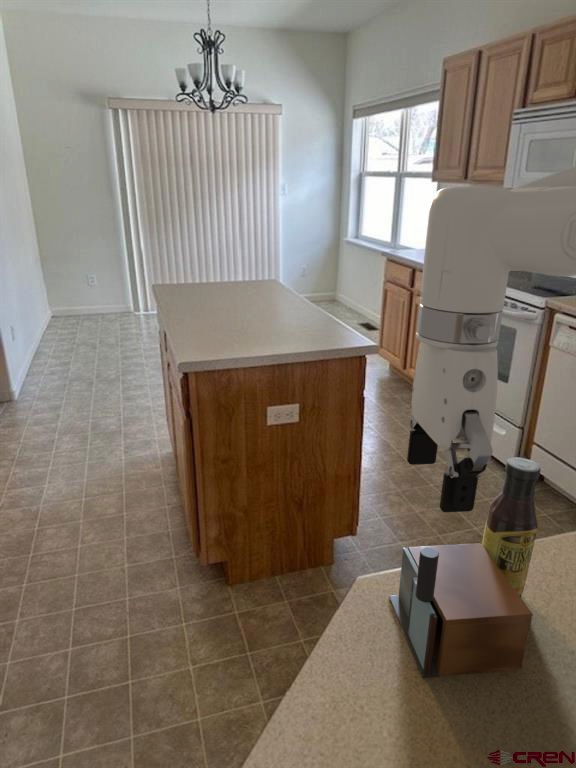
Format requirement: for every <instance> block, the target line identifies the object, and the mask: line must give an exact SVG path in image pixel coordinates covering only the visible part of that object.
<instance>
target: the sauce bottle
mask: <svg viewBox="0 0 576 768" xmlns="http://www.w3.org/2000/svg"><path fill="white" fill-rule="evenodd" d="M504 471H505V477H504V482H503V485H502V491H501V492H500V493H499V494H498V495H497V496H496V497H494V499H493V500H492V501H491V503H490V505H489V508H488V514H487V518H486V519H485V520H486V521H485V525H484V530H483V537H482V541H481V545H482V546H483V547H484V549H485V550H486V551H487V553H488V554H489V556H490V557H491V558H492V560H493V561H494V562H495V564H496V565H497V566H498V568H499V569H500V570H501V572H502V573H503V574H504V576H505V577H506V578H507V580H508V581H509V582H510V584H511V585H512V587H513V588H514V589H515V591H516V592H517V593H518V595H519V596H520V597H521V598H522V595H523V593H524V589H525V585H526V581H527V577H528V573H529V568H530V564H531V559H532V555H533V550H534V546H535V541H536V538H537V533H538V527H539V526H538V520H537V513H536V507H535V499H534V498H535V491H536V487H537V481H538V480H539V478H540V476H541V465H540V464H539V463H538V462H536V461H533V460H531V459H528V458H525V457H510V458H508V459H507V460H506V463H505V468H504Z"/></svg>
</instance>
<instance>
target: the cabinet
mask: <svg viewBox="0 0 576 768" xmlns="http://www.w3.org/2000/svg"><path fill="white" fill-rule="evenodd" d="M424 547H430V548H434V549H435V550H437V551H438V553H439V558H438V566H437V574H436V582H435V590H434V598H433V600H432V601H431V602H430V604H431V606H432V608H433V610H434V612H435V614H436V616H437V624H436V631H435V639H434V647H433V655H432V663H431V670H430V674H427V675H425V673H424V670H423V668H422V666H421V663H420V661H419V659H418V656H417V654H416V651H415V649H414V647H413V644H412V642H411V639H410V637H409V635H408V632H407V627H408V618H409V608H410V599H411V590H412V580H413V578H417V576H418V567H419V558H420V551H421V549H422V548H424ZM401 557H402V558H401V568H400V569H401V570H400V578H399V588H398V594H397V595H396V594H395V595H389V596H388V598H389V602H390V603H391V604H390V605H391V606H392V609H393V611H394V613H395V616H396V618H397V620H398V623H399V625H400V628H401V631H402V633H403V636H404V638H405V641H406V643H407V645H408V648H409V650H410V652H411V655H412V657H413V661H414V662H415V664H416V668H417V670H418V672H419V674H420V676H421V678H423V679H424V678H425V679H426V678H435V677H445V676H456V675H467V674H468V675H469V674H477V673H490V672H502V671H513V670H522V668H523V664H524V658H525V654H526V649H527V643H528V639H529V633H530V629H531V624H532V619H533V612H532V611H531V610H530V608H529V607H528V605H527V604H526V602H525V601H524V600H523V598H522V596H521V597H520V596H519V595H518V593H517V592H516V591H515V589H514V588H513V587H512V585H511V584H510V582H509V581H508V580H507V578H506V577H505V576H504V574H503V573H502V572H501V570H500V569H499V568H498V566H497V565H496V564H495V562H494V561H493V560H492V558H491V557H490V556H489V554H488V553H487V551H486V550H485V549H484V547H483V546H482V542H475V543H458V544H442V545H441V544H440V545H425V546H424V545H423V546H410V547H409V546H408V547H403V549H402V556H401Z"/></svg>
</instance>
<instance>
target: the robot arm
mask: <svg viewBox="0 0 576 768" xmlns="http://www.w3.org/2000/svg"><path fill="white" fill-rule="evenodd" d="M425 238H426V239H425V247H424V255H423V266H422V276H421V284H420V293H419V304H418V314H417V315H418V316H417V323H416V333H415V338H416V339H417V340H418V341H419V347H418V352H417V357H416V361H415V363H416V364H415V369H414V376H413V383H412V384H411V385H412V386H411V391H412V392H411V404H410V409H411V414H412V417H411V418H410V419H409V427H410V430H409V437H408V445H407V446H408V448H407V456H406V461H407V463H408V464H409V465H412V466H413V465H433V464H436V461H437V455H438V447H440V448H441V449H443V450H444V452H445V457H446V464H447V471H448V472H443V479H442V485H441V492H440V493H441V494H440V501H439V509H440V510H441V512H442V513H464V512H465V513H467V512H471V511H473V510H474V507H475V500H476V495H477V494H476V493H477V488H478V483H479V478H481V477H482V476H483V472H485V471H486V469H487V467H488V462H489V461H490V460H491V458H492V455H493V451H494V450H493V446H492V439H493V433H494V427H495V418H496V408H497V398H498V384H499V383H498V381H499V361H498V350H497V348H496V347H497V346H498V344H499V338H500V332H501V325H502V320H503V314H504V313H503V312H504V306H505V301H506V300H505V299H506V294H507V287H508V281H509V275H510V272H511V271H521V272H528V273H534V274H540V275H546V276H547V275H548V276H551V277H572V276H573V277H574V276H576V165H575V166H571V167H569V168H565V169H563V170H560V171H557V172H554V173H552V174H548V175H545V176H543V177H540V178H538V179H535V180H532V181H529V182H527V183H524V184H521V185H519V186H516V187H513V188H511V189H508V188H504V187H495V186H449V187H444V188H441V189H439V190H438V191H436V193H435V194H433V197H432V199H431V201H430V205H429V210H428V219H427V227H426V237H425ZM465 439H466V442H453V440H454V441H455V440H465ZM457 452H458V453H459V452H467V457H464V458H463V459H462V460H460V461H459V462H458V456H457Z"/></svg>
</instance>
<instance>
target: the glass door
mask: <svg viewBox="0 0 576 768" xmlns="http://www.w3.org/2000/svg"><path fill="white" fill-rule="evenodd" d="M438 558H439V553H438V551H437V550H435V549H434V548H430V547H424V548H422V549H421V551H420V558H419V567H418V576H417V578H413V580H412V590H411V599H410V608H409V618H408V627H407V632H408V635H409V637H410V639H411V642H412V644H413V647H414V649H415V651H416V654H417V656H418V659H419V661H420V663H421V666H422V668H423V670H424V673H425V675H427V674H430V670H431V663H432V655H433V647H434V639H435V631H436V624H437V616H436V614H435V612H434V610H433V608H432V606H431V604H430V602H431V601H432V600H433V598H434V590H435V582H436V574H437V566H438Z"/></svg>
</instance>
